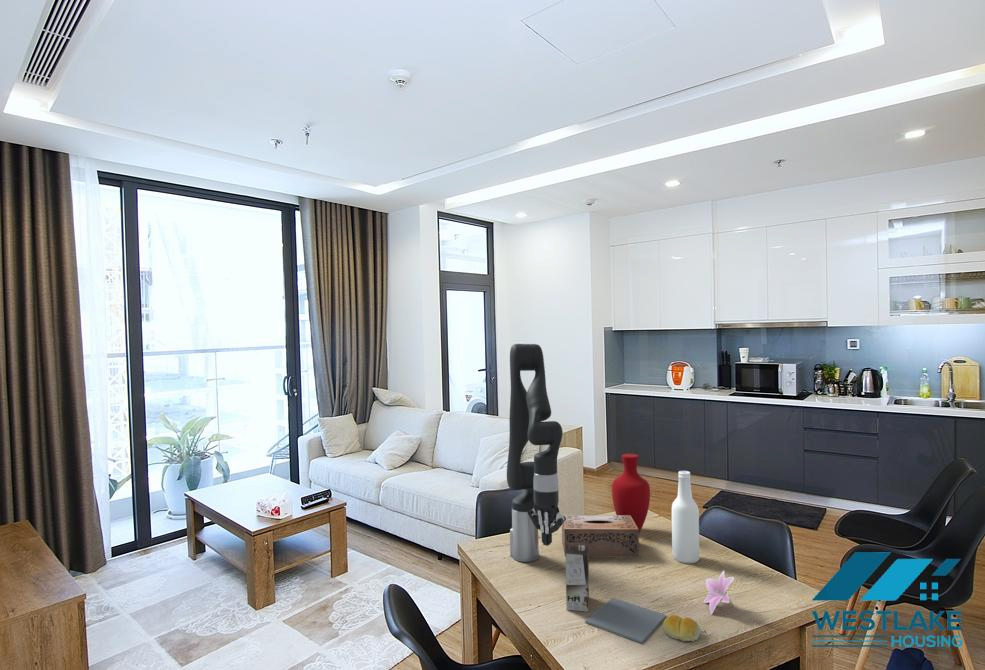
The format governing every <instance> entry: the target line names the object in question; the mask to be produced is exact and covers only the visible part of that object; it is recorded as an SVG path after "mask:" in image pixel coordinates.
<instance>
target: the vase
mask: <svg viewBox="0 0 985 670" xmlns="http://www.w3.org/2000/svg"><path fill="white" fill-rule="evenodd" d="M621 459H622V463H623V464H622V465H623V472H622V473H621V475H620V476H618V477H616V478H615V479H613V481H612V483H611V496H612V504H613V507H614V511H615V515H631V517H632V519H633V521H634V522H635V524H636V526H637V527H638V529H639V533H641V531H642V528H643V526H644V524H645V521H646V519H647V515H648V512H649V507H650V501H651V487H650V484H649V482H648V480H646V479H644V478H643V477H642V476H640V474H639V473H638V462H639V454H635V453H624V454H622V455H621Z"/></svg>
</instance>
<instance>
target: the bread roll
mask: <svg viewBox="0 0 985 670" xmlns="http://www.w3.org/2000/svg"><path fill="white" fill-rule="evenodd" d="M662 622H663V623H662V625H663V631H664V632H665V634H666V635H667V636H668V637H670V638H672V639H674V640H681V641H682V642H685V641H692V642H696V641H697V640H699V637H700V634H701V626H699V624H698V622H696V621H695V620H694V619H692V618H690V617H681V616H679V615H677V614H671V615H669V616H666V618H665V619H664V620H663V621H662ZM695 640H696V641H695Z"/></svg>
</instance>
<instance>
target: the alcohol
mask: <svg viewBox="0 0 985 670" xmlns="http://www.w3.org/2000/svg"><path fill="white" fill-rule="evenodd" d="M677 473H678V475H677V476H678V484H677V496H676V497H675V499H674V501H672V503H671V550H672V554H671V555H672V557H673V559H674V560H675V561H676V562H678V563H682V564H687V565H688V564H689V565H690V564H691V565H692V564H696V563H697V562H698V561H700V518H699V517H700V515H699V513H700V512H699V507H698V503H697V502H696V501H695V500H694V498H693V495H692V494H693V493H692V485H691V483H692V481H691V472H690V471H688V470H679V471H678V472H677Z"/></svg>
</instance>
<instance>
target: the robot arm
mask: <svg viewBox="0 0 985 670" xmlns="http://www.w3.org/2000/svg"><path fill="white" fill-rule="evenodd" d="M544 358H545V357H544V352H543V349H542V347H541V345H539V344H536V343H513V344H512V346H511V347H510V351H509V370H510V373H509V375H510V376H509V378H510V379H509V380H510V397H509V398H510V401H509V419H508V420H509V421H508V422H509V441H508V443H509V444H508V453H507V464H506V483H507V486H508V487H509V489H510V490H512V491H521V490H522V492H521V493H520V494H519V495H517V496H515V497H514V498H513V499H512V501H511V528H510V529H509V545H510V547H509V549H510V553H509V556H510V557H512V558H513V559H514V560H516V561H517V562H523V563H524V562H525V563H528V562H529V563H530V562H535V561H537V559H539V557H540V554H539V553H540V550H539V549H540V548H539V543H540V542H539V541H540V540H539V532H540V533H541V543H542V545H543V546H547V547H549V546H550V545H551V544H552V542H553V533H555V532H557V531H558V530H559V529H560V528H561V527H562V524H563V523H564V521H565V520H566V517H565V516H563V517H562V514H561V513H560V508H559V500H560V499H559V477H558V455H559V450H560V447H561V443H562V439H563V433H564V432H563V427H562V426H561V423H559V422H558V421H555V420H551V421H550V420H549V421H547V420H548V419H550V418H551V416H552V408H551V405H550V400H549V396H548V392H547V383H546V381H547V380H546V379H547V378H546V370H545V368H546V367H545V360H544ZM522 371H523V372H525V371H529V372H530V371H534V377H533V379H532V381H531V383H530V385H529V386H528V389H527V390H526V388H525V386H524V385H525V384H523V381H522V380H523V379H522V376H521V372H522ZM528 442H530V444H531V445H532V446H547V449H545V450H543V451H540V452H537V453H535V454H534V456H533V461H531V460H530V461H524V462H523V461H522V460H521V459H522V454H523V451H524V449H525V447H526V445H527V443H528ZM521 461H522V462H521Z"/></svg>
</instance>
